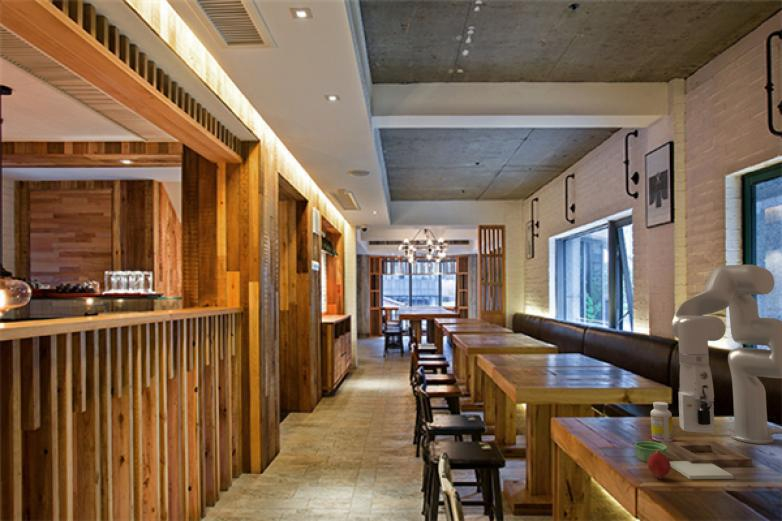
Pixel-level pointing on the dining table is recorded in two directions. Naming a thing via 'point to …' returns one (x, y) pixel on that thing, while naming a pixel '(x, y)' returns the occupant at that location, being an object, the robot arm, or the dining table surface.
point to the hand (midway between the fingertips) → (696, 420)
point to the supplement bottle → (661, 422)
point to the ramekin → (648, 449)
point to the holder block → (721, 458)
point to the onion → (659, 464)
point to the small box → (693, 415)
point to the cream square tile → (700, 470)
